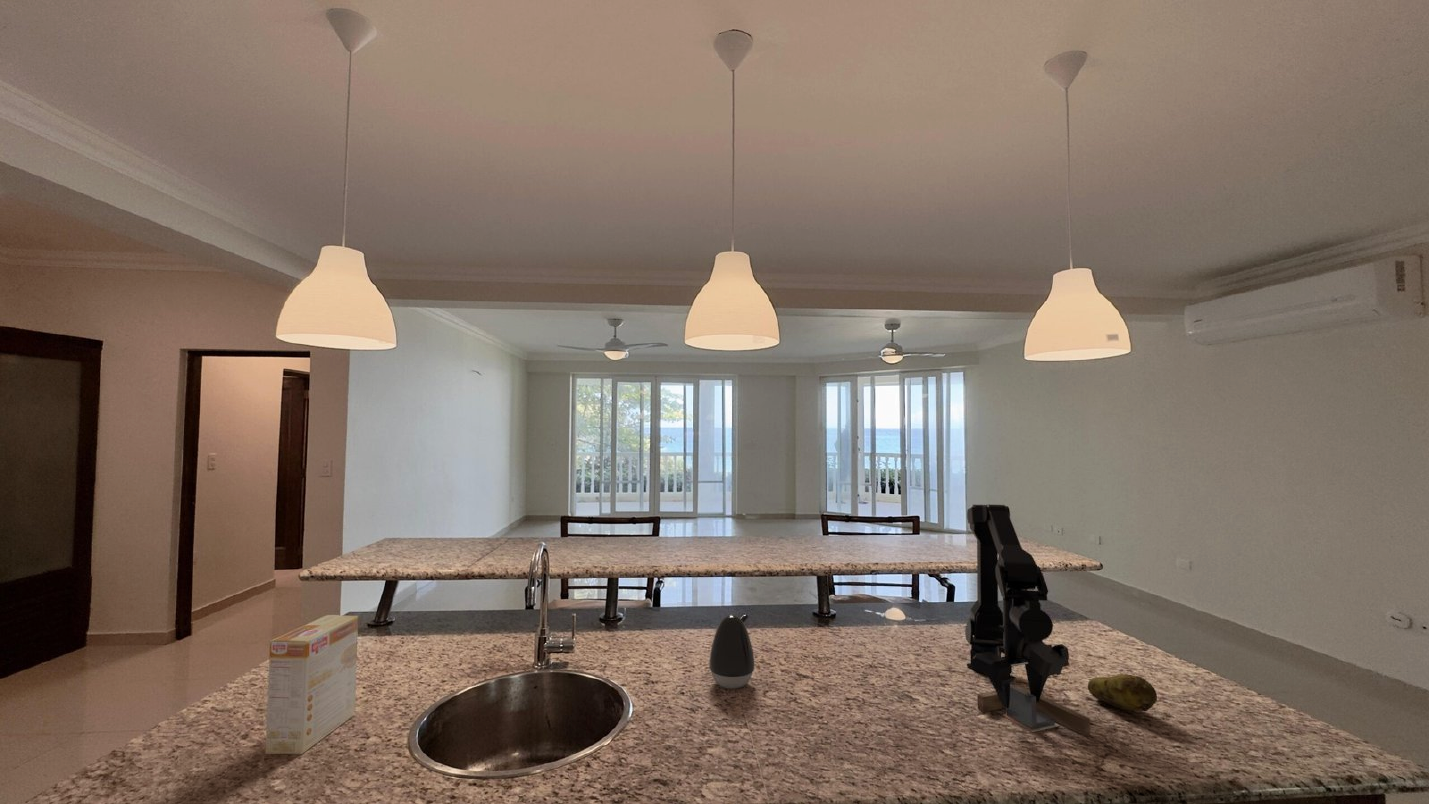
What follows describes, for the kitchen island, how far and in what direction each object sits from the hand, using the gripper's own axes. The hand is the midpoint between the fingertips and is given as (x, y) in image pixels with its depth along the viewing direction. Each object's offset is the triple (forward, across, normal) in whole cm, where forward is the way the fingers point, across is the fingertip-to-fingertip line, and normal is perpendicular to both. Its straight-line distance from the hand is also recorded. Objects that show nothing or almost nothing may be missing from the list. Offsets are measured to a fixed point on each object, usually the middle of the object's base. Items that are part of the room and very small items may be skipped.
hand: (1020, 704), depth 116 cm
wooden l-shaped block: (+4, +2, 0) cm, 4 cm away
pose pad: (+4, +2, 0) cm, 4 cm away
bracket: (+3, +2, 0) cm, 4 cm away
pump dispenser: (+4, -47, +36) cm, 59 cm away
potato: (+4, +24, -3) cm, 25 cm away
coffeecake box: (+4, -129, +42) cm, 135 cm away
